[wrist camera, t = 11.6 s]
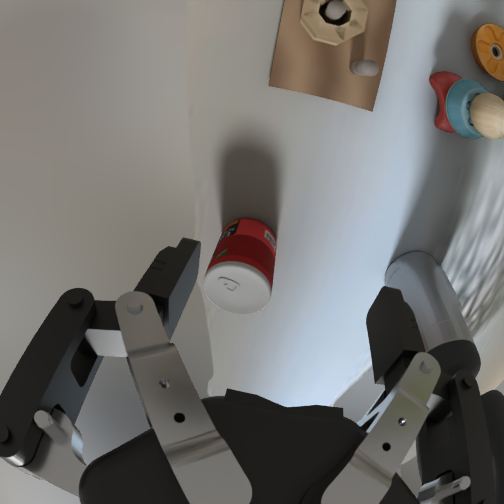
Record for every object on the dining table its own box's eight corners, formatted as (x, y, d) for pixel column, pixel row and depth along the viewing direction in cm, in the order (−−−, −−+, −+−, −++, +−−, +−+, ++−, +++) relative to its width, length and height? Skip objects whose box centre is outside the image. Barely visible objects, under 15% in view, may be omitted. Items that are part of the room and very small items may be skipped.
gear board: (399, -46, 17) (422, -67, 11) (369, 109, 30) (388, 121, 24) (300, -73, 17) (301, -102, 11) (269, 85, 31) (262, 89, 24)
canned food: (229, 208, 41) (210, 255, 32) (285, 227, 41) (281, 279, 32) (216, 251, 45) (196, 302, 36) (266, 268, 46) (258, 323, 37)
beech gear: (360, 5, 22) (370, -5, 18) (351, 50, 26) (361, 47, 21) (305, -9, 22) (308, -21, 18) (297, 36, 26) (298, 31, 22)
